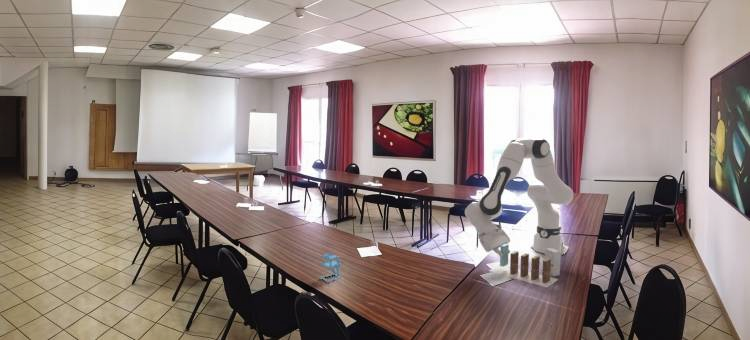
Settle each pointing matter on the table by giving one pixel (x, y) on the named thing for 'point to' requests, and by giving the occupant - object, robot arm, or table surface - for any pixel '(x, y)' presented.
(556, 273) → the skincare box
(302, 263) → the table surface
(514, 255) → the domino
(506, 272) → the row mat
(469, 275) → the table surface
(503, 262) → the domino
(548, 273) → the domino
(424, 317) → the table surface
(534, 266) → the domino
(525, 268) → the domino
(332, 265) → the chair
